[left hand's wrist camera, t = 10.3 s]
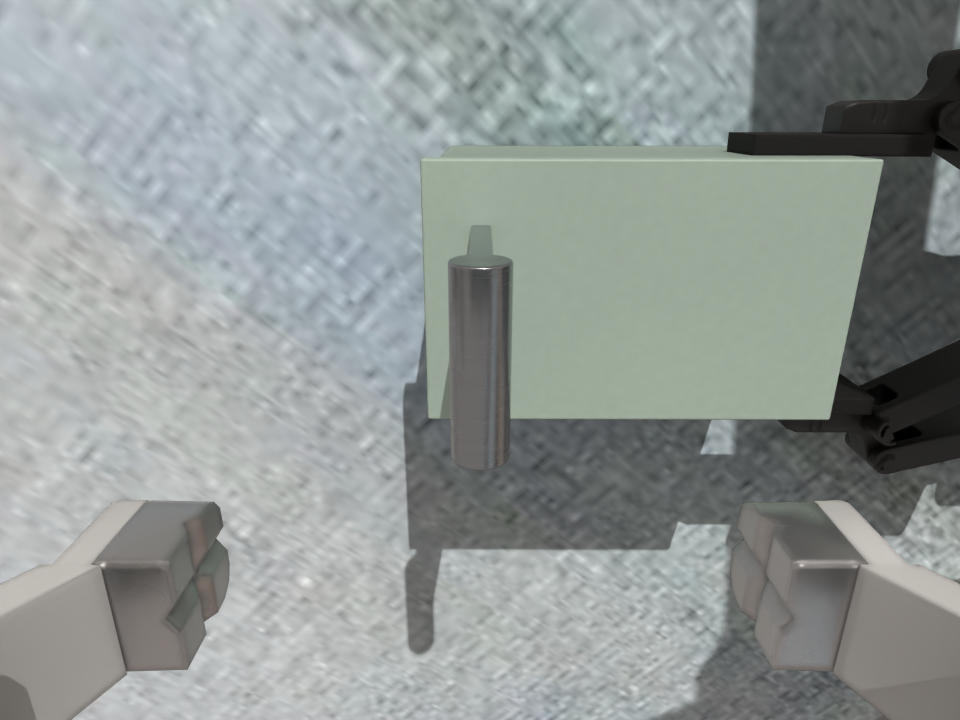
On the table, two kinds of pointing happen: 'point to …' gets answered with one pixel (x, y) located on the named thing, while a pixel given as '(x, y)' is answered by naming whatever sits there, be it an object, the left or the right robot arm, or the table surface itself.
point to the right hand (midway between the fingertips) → (722, 277)
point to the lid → (636, 289)
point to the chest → (607, 152)
